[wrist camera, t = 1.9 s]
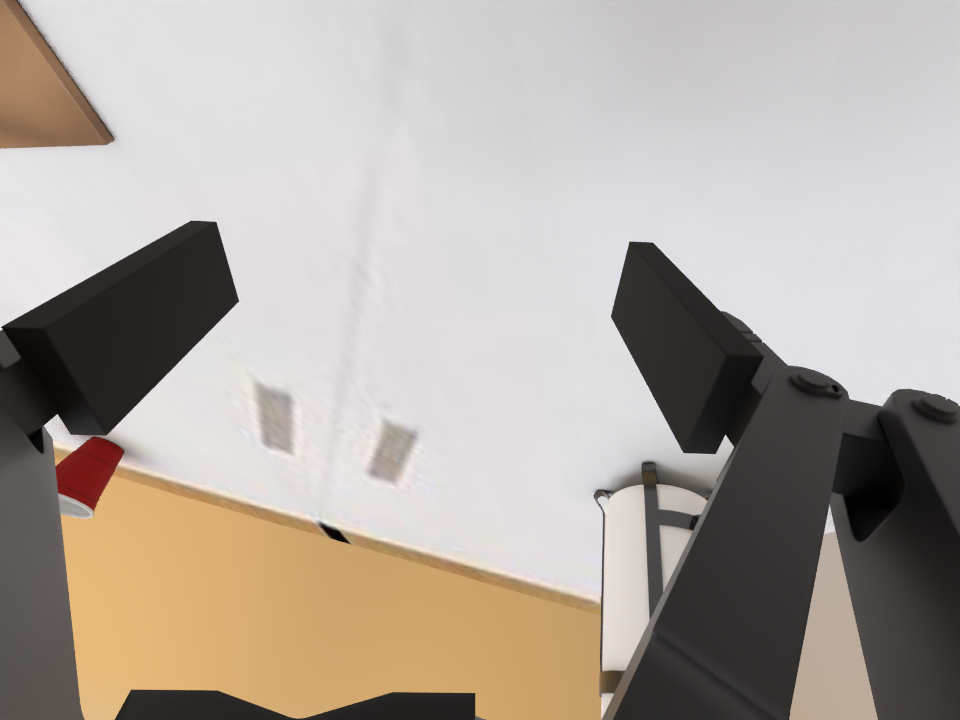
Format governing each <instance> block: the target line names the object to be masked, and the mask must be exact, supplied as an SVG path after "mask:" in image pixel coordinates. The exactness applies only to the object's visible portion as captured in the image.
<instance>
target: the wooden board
mask: <svg viewBox="0 0 960 720" xmlns="http://www.w3.org/2000/svg"><path fill="white" fill-rule="evenodd" d="M113 141H114V139H113V137H112V136H111V135H110V133H109V132H108V130H107V129H106V127H105V126H104V125H103V123H102V122H101V120H100V119H99V117H98V116H97V115H96V113H95V112H94V110H93V109H92V108H91V106H90V105H89V103H88V102H87V100H86V99H85V98H84V96H83V95H82V93H81V92H80V90H79V89H78V88H77V86H76V85H75V83H74V82H73V80H72V79H71V78H70V76H69V75H68V73H67V72H66V70H65V69H64V68H63V66H62V65H61V63H60V62H59V60H58V59H57V58H56V56H55V55H54V53H53V52H52V51H51V49H50V48H49V46H48V45H47V43H46V42H45V41H44V39H43V38H42V36H41V35H40V33H39V32H38V31H37V29H36V28H35V26H34V25H33V23H32V22H31V21H30V19H29V18H28V16H27V15H26V13H25V12H24V11H23V9H22V8H21V6H20V5H19V4H18V2H17V1H16V0H0V148H28V147H57V146H86V145H107V144H109V143H111V142H113Z"/></svg>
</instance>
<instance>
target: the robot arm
mask: <svg viewBox="0 0 960 720" xmlns="http://www.w3.org/2000/svg"><path fill="white" fill-rule="evenodd" d="M238 302H239V300H238V296H237V293H236V289H235V286H234V282H233V279H232V275H231V272H230V268H229V265H228V261H227V258H226V254H225V251H224V247H223V244H222V240H221V237H220V233H219V230H218V226H217V223H216V222H207V221H190V222H188V223H186V224H185V225H183V226H181V227H179V228H177V229H176V230H174V231H172V232H170V233H168V234H167V235H165V236H163V237H161V238H160V239H158V240H156V241H154V242H152V243H151V244H149V245H147V246H145V247H143V248H142V249H140V250H138V251H136V252H134V253H133V254H131V255H129V256H127V257H126V258H124V259H122V260H120V261H118V262H117V263H115V264H113V265H111V266H109V267H108V268H106V269H104V270H102V271H100V272H99V273H97V274H95V275H93V276H92V277H90V278H88V279H86V280H84V281H83V282H81V283H79V284H77V285H75V286H74V287H72V288H70V289H68V290H67V291H65V292H63V293H61V294H59V295H58V296H56V297H54V298H52V299H50V300H49V301H47V302H45V303H43V304H41V305H40V306H38V307H36V308H34V309H33V310H31V311H29V312H27V313H25V314H24V315H22V316H20V317H18V318H16V319H15V320H13V321H11V322H9V323H7V324H6V325H4V326H2V329H3V330H1V331H0V720H84V717H83V714H82V711H81V705H80V698H79V688H78V678H77V670H76V660H75V650H74V640H73V631H72V621H71V611H70V602H69V592H68V583H67V573H66V564H65V554H64V545H63V535H62V525H61V516H60V506H59V497H58V487H57V478H56V468H55V458H54V449H53V439H52V437H51V436H50V434H49V433H48V432H47V430H46V429H45V427H44V425H45V424H46V423H47V422H48V421H50V420H51V419H52V418H53V417H54V416H55V415H57V414H58V415H59V417H60V418H61V420H62V421H63V423H64V425H65V426H66V428H67V429H68V431H69V432H70V434H71V435H104V436H106V435H107V434H108V433H109V432H110V431H111V430H112V429H113V428H114V427H115V426H116V425H117V424H118V423H119V422H120V421H121V420H122V419H123V418H124V417H125V416H126V415H127V414H128V413H129V412H130V411H131V410H132V409H133V408H134V407H135V406H136V405H137V404H138V403H139V402H140V401H141V400H142V399H143V398H144V397H145V396H146V395H147V394H148V393H149V392H150V391H151V390H152V389H153V388H154V387H155V386H156V385H157V384H158V383H159V382H160V381H161V380H162V379H163V378H164V377H165V376H166V375H167V374H168V373H169V372H170V371H171V370H172V369H173V368H174V367H175V366H176V365H177V364H178V362H179V361H180V360H181V359H182V358H183V357H184V356H185V355H186V354H187V353H188V352H189V351H190V350H191V349H192V348H193V347H194V346H195V345H196V344H197V343H198V342H199V341H200V340H201V339H202V338H203V337H204V336H205V335H206V334H207V333H208V332H209V331H210V330H211V329H212V328H213V327H214V326H215V325H216V324H217V323H218V322H219V321H220V320H221V319H222V318H223V317H224V316H225V315H226V314H227V313H228V312H229V311H230V310H231V309H232V308H233V307H234V306H235V305H236V304H237V303H238ZM611 318H612V319H613V321H614V323H615V325H616V327H617V329H618V331H619V333H620V335H621V336H622V338H623V340H624V342H625V344H626V346H627V348H628V350H629V351H630V353H631V355H632V357H633V359H634V361H635V363H636V365H637V366H638V368H639V370H640V372H641V374H642V376H643V378H644V380H645V382H646V383H647V385H648V387H649V389H650V391H651V393H652V395H653V397H654V398H655V400H656V402H657V404H658V406H659V408H660V410H661V412H662V413H663V415H664V417H665V419H666V421H667V423H668V425H669V427H670V429H671V430H672V432H673V434H674V436H675V438H676V440H677V442H678V444H679V445H680V447H681V449H682V451H683V453H700V454H716V452H717V450H718V448H719V446H720V444H721V442H722V440H723V438H724V436H725V434H726V436H727V437H728V439H729V440H730V442H731V443H732V445H733V446H734V449H733V451H732V453H731V454H730V456H729V458H728V460H727V462H726V464H725V466H724V468H723V470H722V471H721V473H720V475H719V477H718V479H717V483H716V485H715V487H714V489H713V491H712V493H711V495H710V497H709V499H708V501H707V503H706V506H705V508H704V510H703V512H702V514H701V516H700V518H699V520H698V522H697V524H696V526H695V528H694V530H693V532H692V534H691V536H690V538H689V541H688V543H687V545H686V547H685V549H684V551H683V553H682V555H681V557H680V559H679V561H678V563H677V565H676V567H675V569H674V571H673V573H672V576H671V578H670V580H669V582H668V584H667V586H666V588H665V590H664V592H663V594H662V596H661V598H660V600H659V602H658V604H657V606H656V609H655V611H654V613H653V615H652V617H651V619H650V621H649V623H648V625H647V627H646V629H645V631H644V633H643V635H642V637H641V639H640V641H639V644H638V646H637V648H636V650H635V652H634V654H633V656H632V658H631V660H630V662H629V664H628V666H627V668H626V670H625V672H624V674H623V676H622V679H621V681H620V683H619V685H618V687H617V689H616V691H615V693H614V695H613V697H612V699H611V701H610V703H609V705H608V707H607V709H606V711H605V713H604V716H603V718H602V720H789V716H790V709H791V704H792V698H793V693H794V688H795V683H796V677H797V672H798V667H799V661H800V656H801V650H802V646H803V640H804V635H805V630H806V624H807V619H808V613H809V608H810V603H811V598H812V593H813V587H814V582H815V577H816V572H817V566H818V561H819V556H820V550H821V545H822V540H823V535H824V529H825V524H826V519H827V514H828V508H829V503H830V508H831V512H832V517H833V521H834V525H835V530H836V534H837V539H838V543H839V548H840V552H841V556H842V561H843V565H844V570H845V574H846V579H847V583H848V588H849V592H850V596H851V601H852V606H853V610H854V615H855V619H856V623H857V628H858V632H859V637H860V641H861V646H862V650H863V655H864V659H865V664H866V668H867V672H868V677H869V681H870V685H871V690H872V695H873V699H874V703H875V708H876V712H877V717H878V720H960V406H958V404H957V403H956V402H954V401H952V400H950V399H947V400H946V398H945V397H942V396H940V395H937V394H930V393H927V392H924V391H918V390H912V389H898V390H896V391H895V392H893V393H892V394H891V396H890V397H889V398H888V400H887V401H886V402H885V404H884V405H883V406H877V405H873V404H868V403H864V402H859V401H854V400H850V399H849V396H848V392H847V391H846V390H845V389H844V388H843V386H842V385H841V384H839V383H838V382H836V381H835V380H833V379H832V378H830V377H828V376H826V375H824V374H822V373H819V372H817V371H814V370H811V369H807V368H803V367H797V366H788V365H787V364H786V363H785V362H784V361H783V360H782V359H780V358H779V357H778V356H777V355H776V354H775V353H774V352H773V351H772V350H771V349H770V348H769V347H768V346H767V345H766V344H765V343H762V340H761V339H760V338H759V337H758V336H757V335H756V334H753V331H752V330H751V329H750V328H749V327H748V326H747V325H746V324H744V323H743V322H742V321H741V320H739V319H737V318H736V317H734V316H732V315H730V314H728V313H727V312H723V311H719V310H718V309H717V308H716V307H715V306H714V305H713V303H712V302H711V301H710V300H709V299H708V298H707V297H706V296H705V295H704V294H703V293H702V292H701V291H700V290H699V289H698V288H697V287H696V286H695V285H694V284H693V283H692V282H691V281H690V280H689V279H688V278H687V277H686V276H685V275H684V274H683V273H682V272H681V271H680V270H679V269H678V268H677V267H676V266H675V265H674V264H673V263H672V262H671V261H670V260H669V259H668V258H667V257H666V256H665V255H664V254H663V253H662V252H661V250H660V249H659V248H658V247H657V246H656V245H655V244H654V243H648V242H629V246H628V250H627V254H626V258H625V262H624V266H623V270H622V274H621V278H620V282H619V286H618V290H617V294H616V298H615V302H614V306H613V310H612V314H611ZM115 720H485V719H482V718H480V717H477V716H475V693H407V692H406V693H405V692H403V693H402V692H401V693H400V692H392V693H389V694H385V695H383V696H379V697H375V698H372V699H369V700H365V701H362V702H358V703H355V704H352V705H348V706H345V707H342V708H338V709H335V710H331V711H328V712H324V713H321V714H318V715H314V716H311V717H307V718H302V719H295V718H290V717H287V716H285V715H282V714H279V713H277V712H274V711H271V710H268V709H266V708H263V707H260V706H258V705H255V704H252V703H249V702H247V701H244V700H241V699H238V698H236V697H233V696H230V695H228V694H225V693H222V692H220V691H208V690H207V691H205V690H131V691H130V693H129V695H128V696H127V698H126V700H125V702H124V704H123V706H122V708H121V710H120V711H119V713H118V715H117V717H116V718H115Z"/></svg>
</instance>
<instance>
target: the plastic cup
mask: <svg viewBox="0 0 960 720" xmlns="http://www.w3.org/2000/svg"><path fill="white" fill-rule="evenodd" d="M123 453H124V451H123V450H122V449H121V448H120V447H119V446H117V445H115V444H114V443H111V442H109V441H107V440H104V439H101V438H97V437H92V438H91V439H90V440H87V441H86V442H85V443H84V444H83V445H81V446H80V447H79V448H78V449H77V450H76V451H74V452H72V453H71V454H70V455H69V456H67V457H66V458H65V459H64V460H63V461H61V462H60V463H59V464H58V465H57V466H55V468H56V478H57V487H58V497H59V506H60V514H63V515H67V516H71V517H76V518H87V519H88V518H89V519H90V518H91V517H93V516H94V510H95V507H96V504H97V502H98V500H99V498H100V496H101V494H102V492H103V490H104V489H105V487H106V485H107V483H108V482H109V480H110V478H111V476H112V475H113V473H114V471H115V468H116V466H117V465H118V463H119V461H120V460H121V458H122V455H123Z"/></svg>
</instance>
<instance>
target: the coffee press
mask: <svg viewBox="0 0 960 720" xmlns="http://www.w3.org/2000/svg"><path fill="white" fill-rule="evenodd" d="M642 476H643V485H635V486H631V487H627V488H624V489H622V490H619V491H618V492H616V493H615V494H613V495H612V496H611V497H610V496H609V495H608V494H606V493H605V492H604V491H602V490H598V491H596V492H595V494H594V499H595V500H596V502H597V504H598V506H599V507H600V508H601V510H602V511H603V509H602V507H601V505H600V504H599V502H598V501H597V500H598V498H599V497H600V496H605V497H606V498H607V499H609V500H608V502H607V504H606V511H605V513H604V511H603V550H602V596H601V642H600V644H601V645H600V668H601V672H600V679H599V696H600V697H601V698H602V704H601V706H602V707H601V720H602V718H603V716H604V713H605V711H606V709H607V707H608V705H609V703H610V701H611V699H612V697H613V695H614V693H615V691H616V689H617V687H618V685H619V683H620V681H621V679H622V676H623V674H624V672H625V670H626V668H627V666H628V664H629V662H630V660H631V658H632V656H633V654H634V652H635V650H636V648H637V646H638V644H639V641H640V639H641V637H642V635H643V633H644V631H645V629H646V627H647V625H648V623H649V621H650V619H651V617H652V615H653V613H654V611H655V609H656V606H657V604H658V602H659V600H660V598H661V596H662V594H663V592H664V590H665V588H666V586H667V584H668V582H669V580H670V578H671V576H672V573H673V571H674V569H675V567H676V565H677V563H678V561H679V559H680V557H681V555H682V553H683V551H684V549H685V547H686V545H687V543H688V541H689V538H690V536H691V534H692V532H693V530H694V528H695V526H696V524H697V522H698V520H699V518H700V516H701V514H702V512H703V510H704V508H705V506H706V503H707V501H708V499H709V497H710V496H709V497H708V498H706V499H704V498H703V497H701V496H700V495H698V494H696V493H694V492H691V491H689V490H686V489H683V488H680V487H675V486H670V485H662V484H658V480H657V473H656V467H655V464H642Z"/></svg>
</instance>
